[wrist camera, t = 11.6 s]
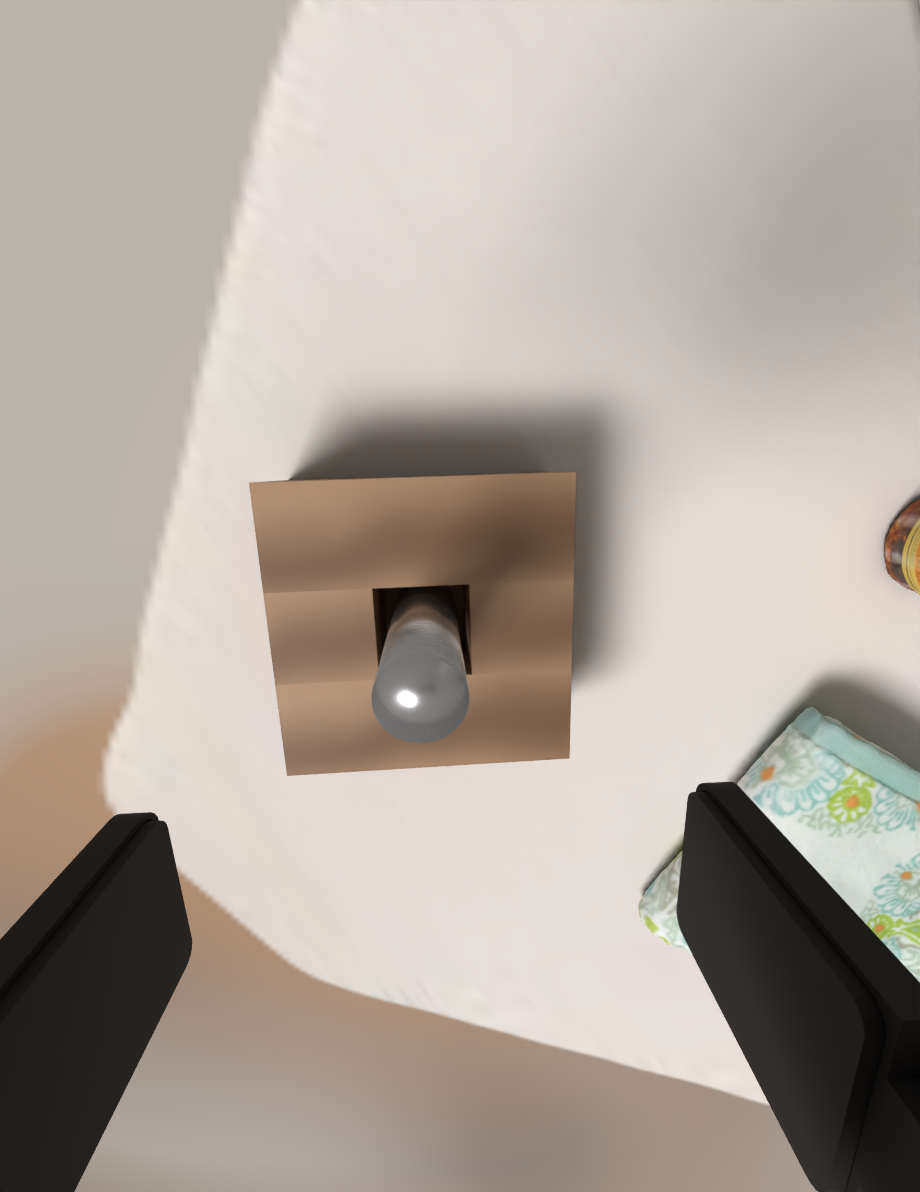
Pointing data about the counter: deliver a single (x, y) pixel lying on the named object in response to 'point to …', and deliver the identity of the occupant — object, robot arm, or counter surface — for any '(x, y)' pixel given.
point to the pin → (421, 668)
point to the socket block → (412, 559)
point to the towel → (833, 829)
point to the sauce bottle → (905, 548)
